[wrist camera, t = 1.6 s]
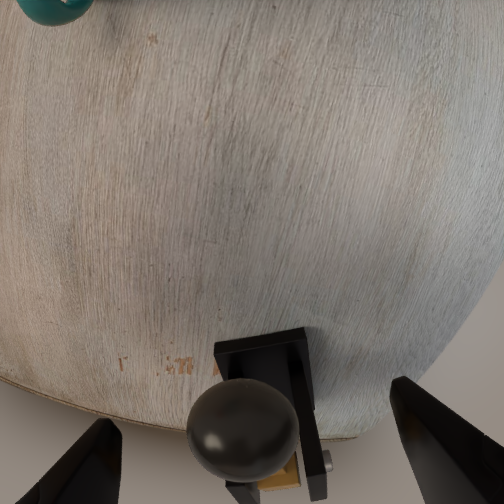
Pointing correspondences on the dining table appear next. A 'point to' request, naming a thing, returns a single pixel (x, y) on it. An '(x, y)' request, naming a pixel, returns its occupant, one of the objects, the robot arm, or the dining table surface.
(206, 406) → the switch lever
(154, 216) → the dining table surface
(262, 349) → the switch bracket
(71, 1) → the cup
